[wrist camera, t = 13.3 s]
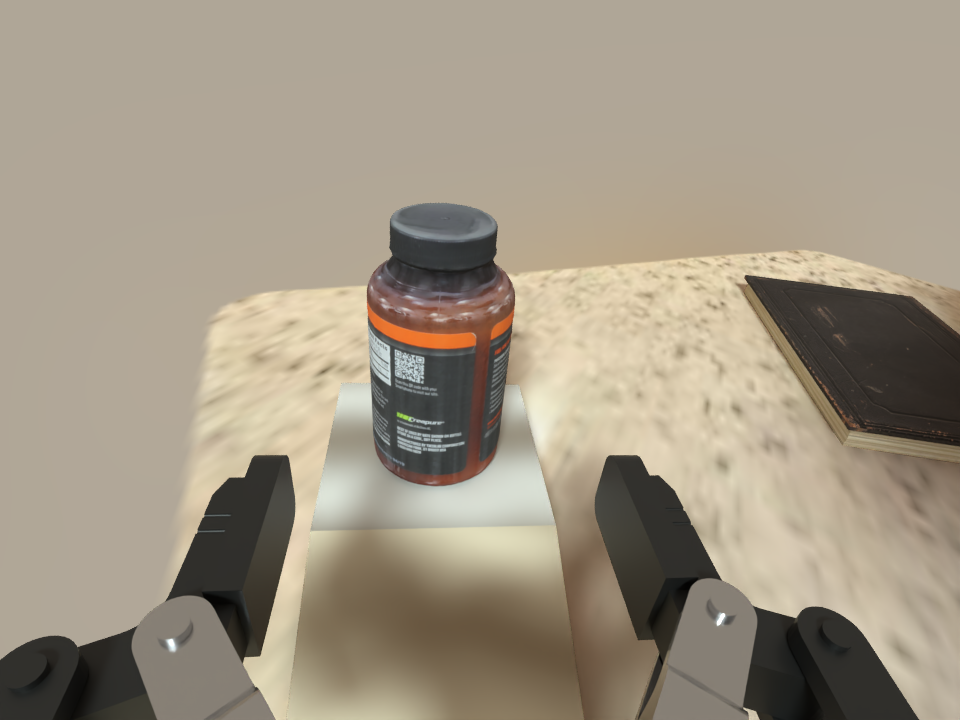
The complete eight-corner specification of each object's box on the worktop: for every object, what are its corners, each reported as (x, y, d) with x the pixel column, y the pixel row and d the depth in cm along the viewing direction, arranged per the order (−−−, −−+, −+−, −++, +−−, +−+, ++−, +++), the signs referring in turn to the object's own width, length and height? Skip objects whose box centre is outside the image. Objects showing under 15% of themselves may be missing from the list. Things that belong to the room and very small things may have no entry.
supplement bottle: (484, 405, 29) (508, 195, 22) (508, 488, 24) (547, 249, 18) (371, 410, 27) (364, 191, 21) (373, 498, 23) (363, 247, 16)
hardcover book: (833, 453, 33) (850, 425, 32) (737, 296, 52) (745, 274, 51) (1107, 495, 32) (1135, 468, 31) (906, 318, 51) (918, 297, 50)
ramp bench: (586, 798, 18) (614, 745, 16) (279, 826, 17) (259, 773, 14) (510, 438, 33) (518, 384, 30) (345, 438, 31) (341, 382, 29)
